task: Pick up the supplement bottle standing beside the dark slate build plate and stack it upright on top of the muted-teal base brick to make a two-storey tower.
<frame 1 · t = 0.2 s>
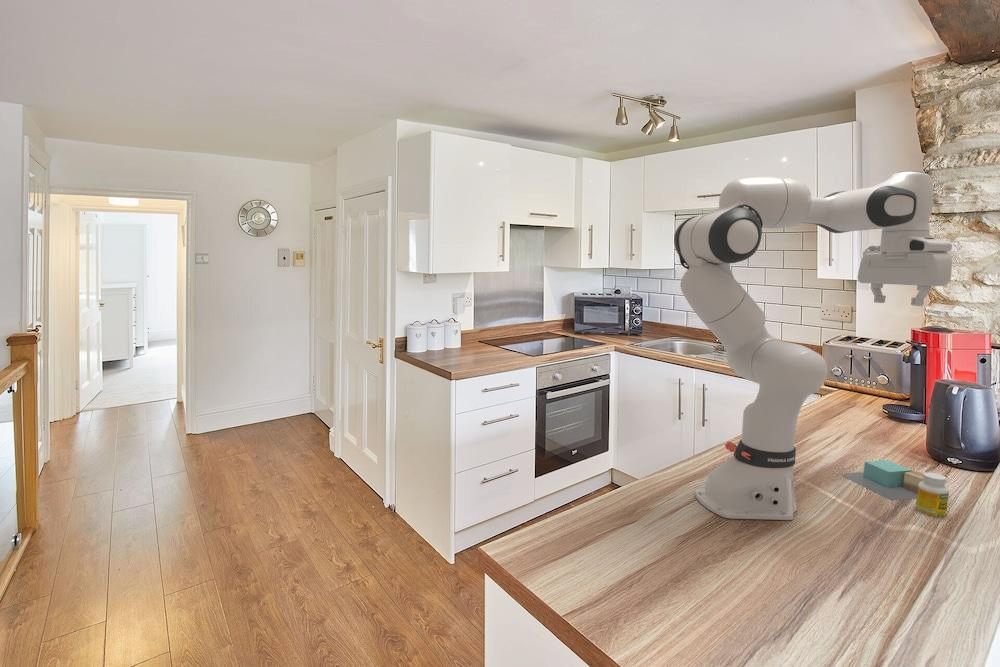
hand: (897, 304, 123), 47 cm above the countertop, fingers open, 8 cm apart
base brick: (886, 480, 134), point 1 cm above the countertop, touching build plate
build plate: (890, 488, 132), on the countertop
supplement bottle: (929, 517, 118), on the countertop
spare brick: (920, 490, 128), point 1 cm above the countertop, touching build plate
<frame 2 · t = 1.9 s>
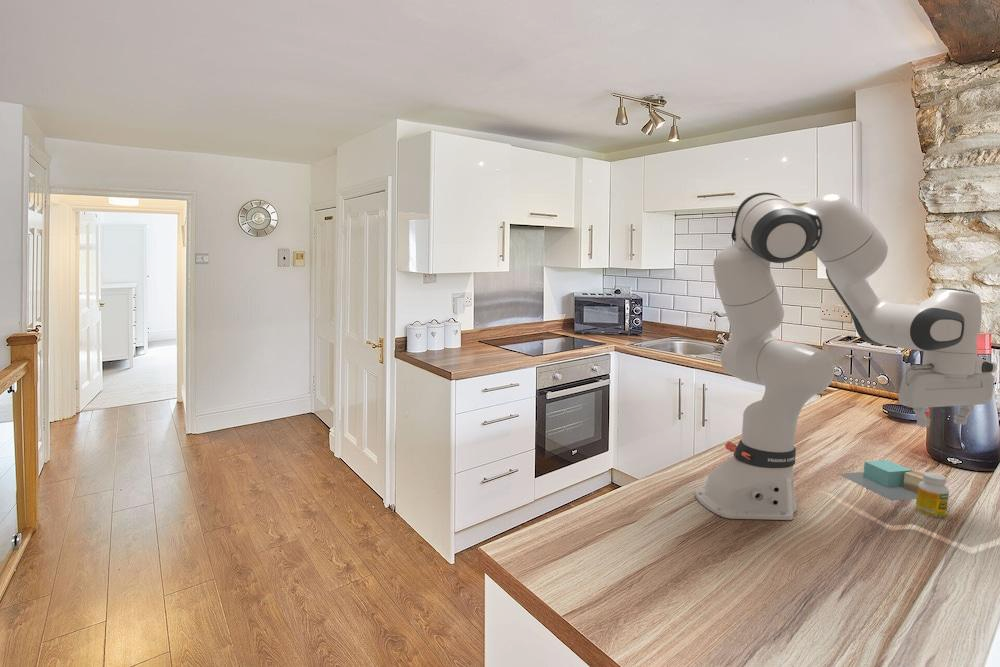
hand: (941, 424, 115), 21 cm above the countertop, fingers open, 8 cm apart
nothing on the countertop moved.
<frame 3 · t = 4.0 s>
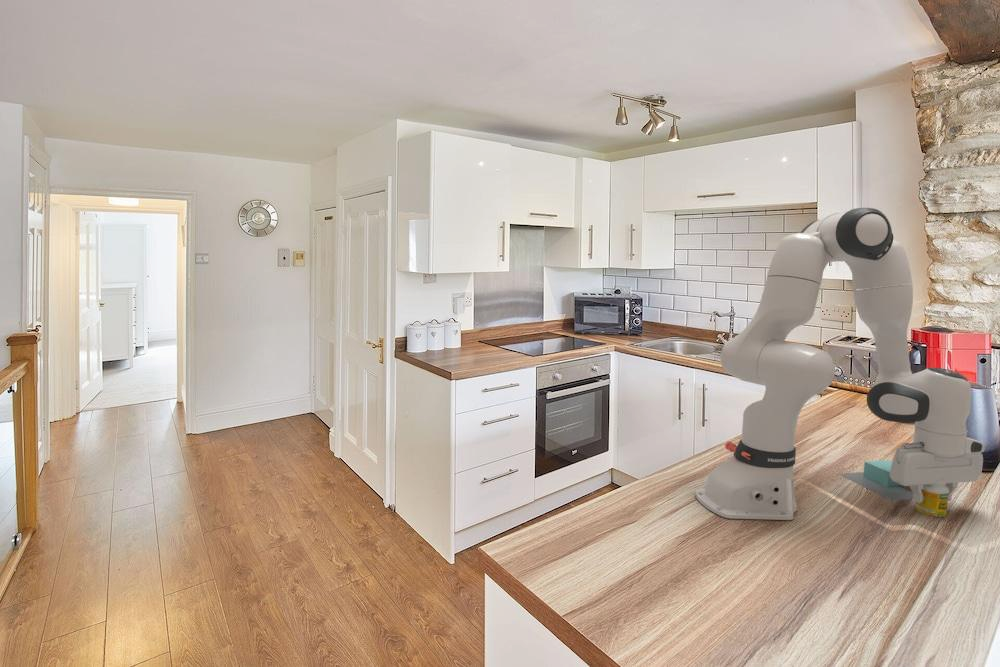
hand: (931, 500, 117), 4 cm above the countertop, fingers closed on supplement bottle, 5 cm apart
supplement bottle: (929, 517, 118), on the countertop, touching gripper
everything else where it was.
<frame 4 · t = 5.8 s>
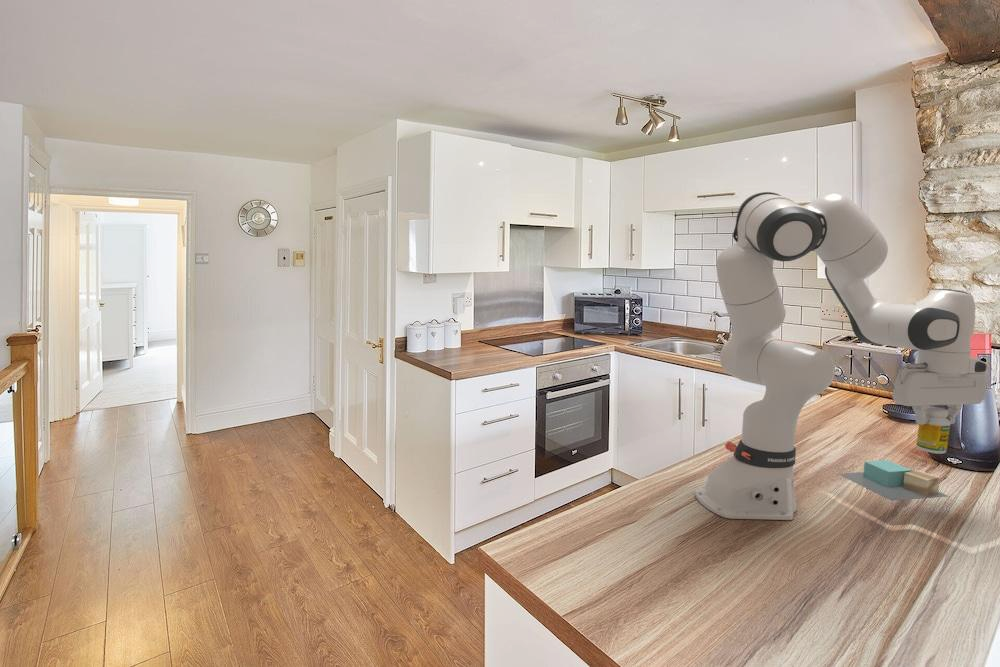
hand: (934, 423, 117), 21 cm above the countertop, fingers closed on supplement bottle, 5 cm apart
supplement bottle: (930, 450, 118), point 15 cm above the countertop, touching gripper
everything else where it was.
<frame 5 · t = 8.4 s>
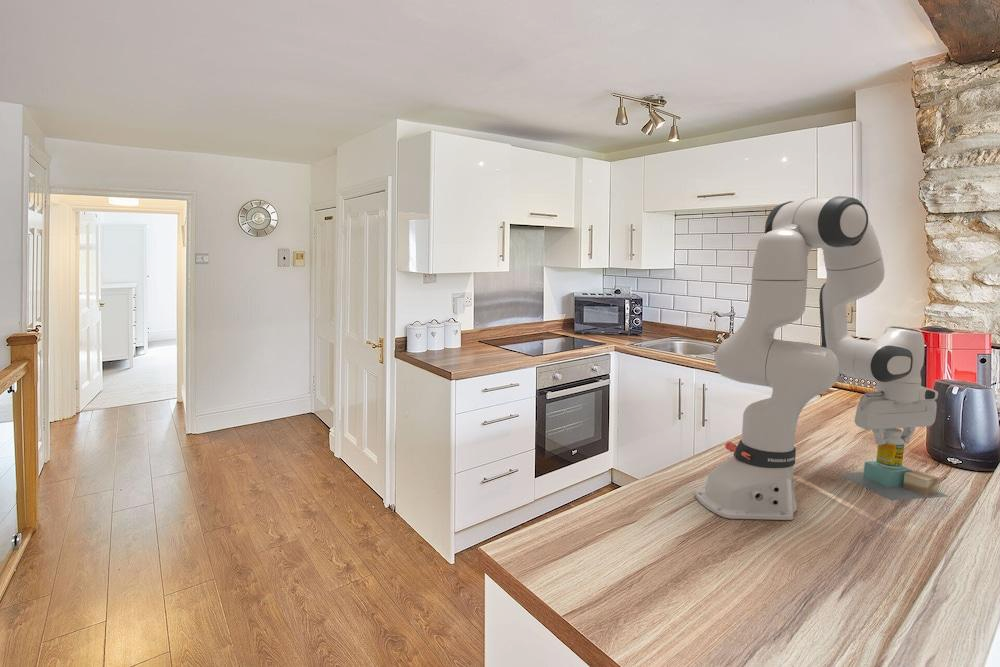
hand: (892, 443, 133), 11 cm above the countertop, fingers closed on supplement bottle, 5 cm apart
base brick: (886, 480, 134), point 1 cm above the countertop, touching supplement bottle, build plate
supplement bottle: (888, 466, 134), point 5 cm above the countertop, touching base brick, gripper
everything else where it was.
when the fingers open (10 cm above the countertop, at t = 9.2 s): supplement bottle stays where it is, resting on base brick.
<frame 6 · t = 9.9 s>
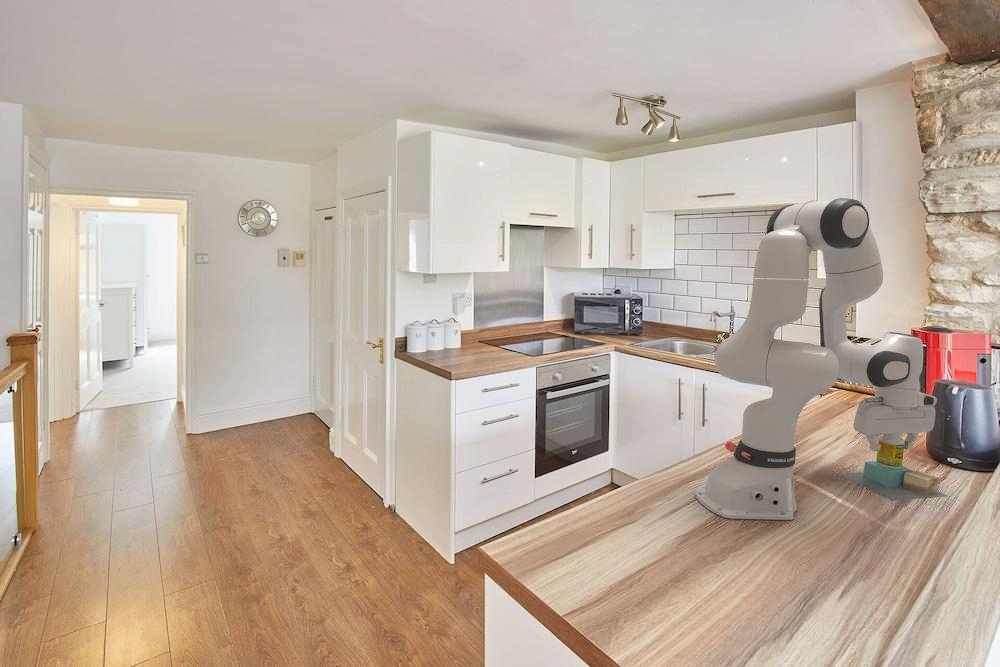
hand: (890, 449, 133), 10 cm above the countertop, fingers open, 8 cm apart
supplement bottle: (888, 466, 134), point 5 cm above the countertop, touching base brick
everything else where it was.
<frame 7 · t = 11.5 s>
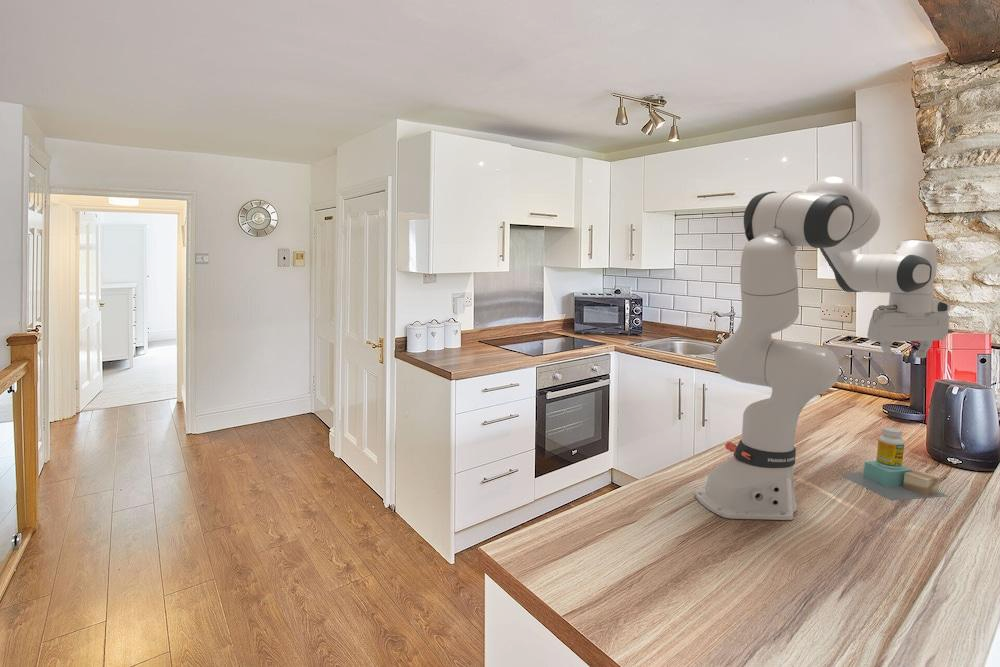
hand: (904, 358, 134), 32 cm above the countertop, fingers open, 8 cm apart
nothing on the countertop moved.
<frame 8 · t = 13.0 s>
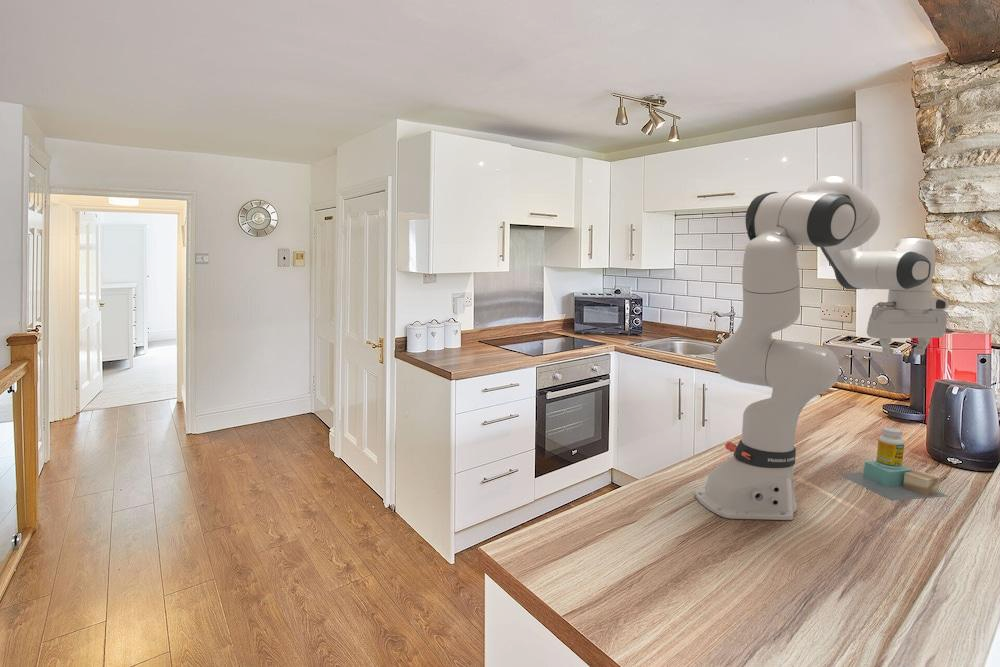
hand: (903, 354, 136), 33 cm above the countertop, fingers open, 8 cm apart
nothing on the countertop moved.
at the end: supplement bottle 0.3 cm off-centre on the base brick, point 3.8 cm above the base brick's base; supplement bottle tilted 0°; the gripper is holding nothing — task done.
